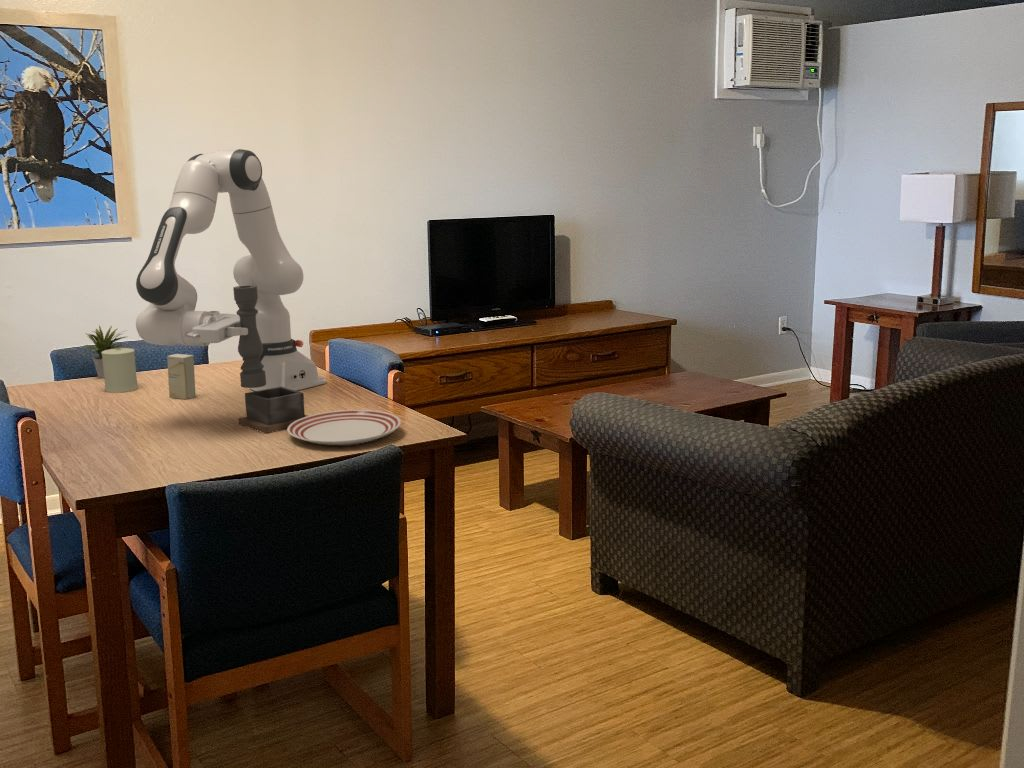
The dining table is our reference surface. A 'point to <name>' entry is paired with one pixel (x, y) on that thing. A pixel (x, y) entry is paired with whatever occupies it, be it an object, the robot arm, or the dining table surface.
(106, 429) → the dining table surface
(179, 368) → the skincare box
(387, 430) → the dinner plate
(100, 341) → the house plant
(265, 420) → the dark square box
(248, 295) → the candle holder
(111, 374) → the can
